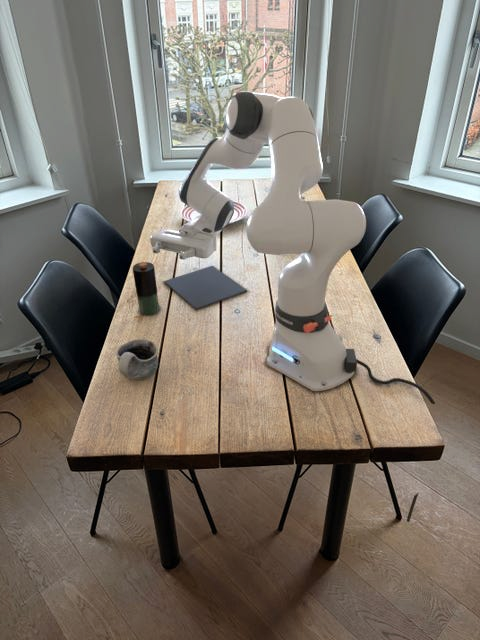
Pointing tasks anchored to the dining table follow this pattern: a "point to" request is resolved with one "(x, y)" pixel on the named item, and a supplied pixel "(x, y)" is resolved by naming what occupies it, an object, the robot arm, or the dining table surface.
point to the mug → (138, 359)
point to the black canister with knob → (145, 279)
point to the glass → (148, 305)
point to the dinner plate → (238, 214)
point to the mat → (204, 287)
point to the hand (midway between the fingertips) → (167, 254)
